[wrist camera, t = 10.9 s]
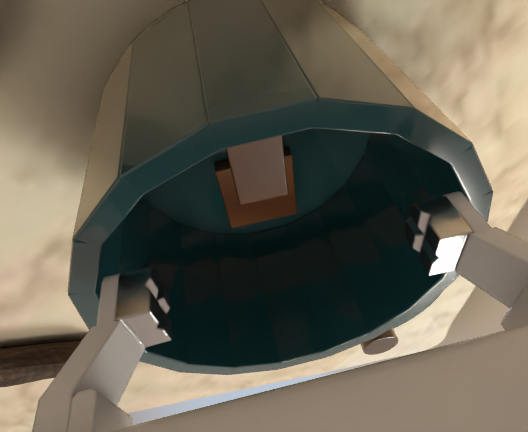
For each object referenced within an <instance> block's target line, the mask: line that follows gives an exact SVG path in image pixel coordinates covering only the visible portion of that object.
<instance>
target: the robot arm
mask: <svg viewBox="0 0 528 432" xmlns="http://www.w3.org/2000/svg"><path fill="white" fill-rule="evenodd" d="M408 212H409V214H410V215H411V216H410V217H409V218H408V219H407V220H406V224H405V231H406V236H407V239H408V242H409V243H410V245H411V247H412V248H413V249H414V250H416V251H418V252H420V256H419V260H420V262H421V264H422V265H423V267H424V269H425V270H426V272H427V274H428V275H429V276H431V275H435V274H440V273H444V272H449V271H453V270H455V272H456V273H458V274H459V275H461V276H462V277H464V278H465V279H467V280H468V281H470V282H471V283H473V284H474V285H476V286H477V287H479V288H480V289H482V290H483V291H485V292H486V293H488V294H489V295H491V296H492V297H494V298H495V299H497V300H498V301H500V302H502V303H503V304H505V305H506V306H507V307H509V308H510V309H509V311H508V312H507V314H506V315H505V316H504V318H503V320H502V322H501V325H502V326H503V328H504V329H505V330H504V331H500V332H497V333H493V334H489V335H485V336H481V337H477V338H473V339H469V340H465V341H462V342H457V343H453V344H450V345H446V346H442V347H438V348H434V349H430V350H426V351H422V352H418V353H414V354H410V355H406V356H402V357H399V358H395V359H391V360H387V361H383V362H379V363H375V364H372V365H367V366H363V367H360V368H355V369H352V370H348V371H344V372H340V373H336V374H332V375H328V376H324V377H320V378H316V379H312V380H308V381H305V382H301V383H297V384H293V385H289V386H285V387H281V388H277V389H273V390H270V391H265V392H261V393H258V394H254V395H250V396H246V397H242V398H238V399H234V400H230V401H226V402H223V403H218V404H215V405H211V406H207V407H203V408H199V409H195V410H192V411H187V412H183V413H179V414H175V415H172V416H168V417H164V418H160V419H156V420H152V421H148V422H144V423H140V424H137V425H132V417H131V416H130V415H129V414H127V413H126V412H124V411H123V410H122V409H120V408H119V407H117V404H118V402H119V400H120V398H121V396H122V394H123V392H124V390H125V388H126V386H127V384H128V382H129V380H130V378H131V376H132V374H133V372H134V370H135V368H136V366H137V364H138V362H139V360H140V358H141V356H142V354H143V352H144V350H145V347H149V346H152V345H156V344H159V343H163V342H167V341H170V340H171V320H170V319H169V317H168V316H167V313H168V311H169V309H170V297H169V292H168V289H167V286H166V284H165V282H164V280H162V279H159V272H158V271H157V269H156V268H155V266H152V267H147V268H143V269H138V270H134V271H129V272H124V273H120V274H116V275H111V276H107V277H104V279H103V281H102V285H101V293H100V301H99V309H98V317H97V325H96V326H94V327H91V329H90V330H89V331H88V333H87V334H86V336H85V337H84V338H83V340H82V341H81V343H80V344H79V345H78V347H77V348H76V349H75V351H74V352H73V354H72V355H71V356H70V358H69V359H68V361H67V362H66V363H65V365H64V366H63V367H62V369H61V370H60V372H59V373H58V374H57V376H56V377H55V378H54V380H53V381H52V383H51V384H50V385H49V387H48V388H47V390H46V391H45V392H44V394H43V395H42V396H41V398H40V399H39V401H38V406H37V411H36V416H35V420H34V425H33V430H32V432H528V241H526V240H523V239H521V238H519V237H517V236H514V235H512V234H510V233H508V232H506V231H504V230H501V229H499V228H497V227H495V228H491V227H490V226H489V224H488V223H487V222H486V221H485V220H484V218H483V217H482V216H481V215H480V214H479V212H478V211H477V210H476V209H475V208H474V207H473V205H472V204H471V203H470V202H469V201H468V199H467V198H466V197H465V196H464V195H463V193H461V192H459V191H458V192H454V193H449V194H445V195H442V196H441V195H440V196H436V197H432V198H428V199H424V200H420V201H417V202H413V203H411V204H410V205H409V209H408Z"/></svg>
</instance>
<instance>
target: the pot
mask: <svg viewBox="0 0 528 432" xmlns="http://www.w3.org/2000/svg"><path fill="white" fill-rule="evenodd" d="M277 136H282V139H283V147H289V149H290V151H291V154H292V160H293V171H294V182H295V193H296V204H297V213H296V214H292V215H288V216H283V217H279V218H275V219H270V220H266V221H262V222H257V223H253V224H249V225H244V226H240V227H236V228H231V226H230V222H229V219H228V215H227V212H226V208H225V205H224V201H223V198H222V194H221V191H220V187H219V184H218V180H217V177H216V173H215V168H214V163H216V162H221V161H225V160H228V157H227V153H226V148H230V147H235V146H239V145H243V144H247V143H252V142H256V141H260V140H265V139H269V138H273V137H277ZM458 191H459V192H461V193H463V195H464V196H465V197H466V198H467V199H468V201H469V202H470V203H471V204H472V205H473V207H474V208H475V209H476V210H477V211H478V212H479V214H480V215H481V216H482V217H483V218H484V220H485V221H486V222H488V216H489V211H490V206H491V201H492V195H493V190H492V187H491V185H490V182H489V180H488V178H487V175H486V173H485V171H484V169H483V166H482V164H481V162H480V159H479V157H478V155H477V152H476V150H475V148H474V145H473V144H472V142H471V141H470V140H469V139H468V138H467V137H466V136H465V135H464V134H463V133H462V132H461V131H460V130H459V129H458V128H457V127H456V126H455V125H454V124H453V123H452V122H451V121H450V120H449V119H448V118H447V117H446V116H445V115H444V114H443V113H442V112H441V111H440V110H439V109H438V108H437V107H436V106H435V104H434V103H433V102H432V101H431V100H430V99H429V98H428V97H427V96H426V95H425V94H424V93H423V92H422V91H421V90H420V89H419V88H418V87H417V86H416V85H415V84H414V83H413V82H412V81H411V80H410V79H409V78H408V77H407V76H406V75H405V74H404V73H403V72H402V71H401V70H400V69H399V68H398V67H397V66H396V65H395V64H394V63H393V62H392V61H391V60H390V59H389V58H388V57H387V56H386V55H385V54H384V53H383V52H382V51H381V50H380V49H379V48H378V47H377V46H376V45H375V44H374V43H373V42H372V41H371V40H370V39H369V38H368V37H367V36H366V35H365V34H364V33H363V32H362V31H361V30H360V29H359V28H357V27H356V26H354V25H353V24H351V23H350V22H349V21H347V20H346V19H345V18H344V17H342V16H341V15H340V14H338V13H337V12H336V11H334V10H333V9H331V8H330V7H328V6H326V5H324V4H323V3H321V2H320V1H318V0H190V1H188V2H186V3H184V4H182V5H179V6H177V7H175V8H173V9H172V10H170V11H169V12H167V13H166V14H164V15H163V16H161V17H160V18H158V19H157V20H155V21H154V22H152V23H151V24H150V25H149V26H148V27H147V28H146V29H145V30H144V31H143V32H141V33H140V34H139V35H138V36H137V37H136V38H135V39H134V41H133V42H132V43H131V44H130V46H129V47H128V48H127V49H126V50H125V52H124V53H123V54H122V56H121V58H120V59H119V61H118V63H117V65H116V66H115V68H114V70H113V71H112V74H111V76H110V79H109V81H108V82H107V84H106V86H105V87H104V90H103V92H102V97H101V102H100V107H99V112H98V117H97V122H96V126H95V131H94V136H93V141H92V146H91V151H90V156H89V161H88V165H87V170H86V175H85V180H84V185H83V190H82V195H81V199H80V204H79V209H78V214H77V219H76V224H75V229H74V234H73V238H72V248H71V259H70V271H69V282H68V295H69V297H70V299H71V301H72V302H73V304H74V306H75V307H76V309H77V311H78V312H79V314H80V316H81V317H82V319H83V321H84V322H85V324H86V326H87V327H88V329H89V330H90V329H91V327H94V326H96V325H97V317H98V309H99V301H100V293H101V285H102V281H103V279H104V277H107V276H111V275H116V274H120V273H124V272H129V271H134V270H138V269H143V268H147V267H152V266H155V268H156V269H157V271H158V272H159V279H162V280H164V282H165V284H166V286H167V289H168V292H169V297H170V309H169V311H168V313H167V316H168V317H169V319H170V320H171V340H170V341H167V342H163V343H159V344H156V345H152V346H149V347H145V350H144V352H143V354H142V356H141V358H140V360H139V361H140V362H144V363H148V364H151V365H155V366H159V367H162V368H166V369H170V370H173V371H177V372H178V371H179V372H185V373H203V374H221V375H232V374H241V373H250V372H260V371H269V370H278V369H282V368H286V367H290V366H294V365H298V364H302V363H306V362H310V361H314V360H318V359H322V358H325V357H328V356H332V355H334V354H336V353H339V352H341V351H344V350H346V349H349V348H351V347H354V346H356V345H358V344H361V343H363V342H366V341H368V340H371V339H373V338H375V337H377V336H379V335H381V334H382V333H384V332H386V331H387V330H389V329H391V328H392V327H394V326H396V325H397V324H399V323H401V322H402V321H404V320H406V319H408V318H409V317H411V316H413V315H414V314H416V313H418V312H419V311H420V310H422V309H423V308H424V307H425V306H426V305H427V304H428V303H429V302H431V301H432V300H433V299H434V298H435V297H436V296H437V295H439V294H440V293H441V292H442V291H443V290H444V289H445V288H446V287H448V286H449V285H450V284H451V283H452V282H453V281H454V280H455V279H456V277H458V276H459V274H458V273H456V272H455V270H453V271H449V272H444V273H440V274H435V275H431V276H429V275H428V274H427V272H426V270H425V269H424V267H423V265H422V264H421V262H420V260H419V256H420V252H418V251H416V250H414V249H413V248H412V247H411V245H410V243H409V242H408V239H407V236H406V231H405V224H406V220H407V219H408V218H409V217H410V216H411V215H410V214H409V212H408V209H409V205H410V204H411V203H413V202H417V201H420V200H424V199H428V198H432V197H436V196H440V195H441V196H442V195H445V194H449V193H454V192H458Z"/></svg>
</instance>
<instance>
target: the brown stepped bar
mask: <svg viewBox="0 0 528 432" xmlns="http://www.w3.org/2000/svg"><path fill="white" fill-rule="evenodd" d="M226 153H227V157H228V160H225V161H221V162H216V163H214V168H215V173H216V177H217V180H218V184H219V187H220V191H221V194H222V198H223V201H224V205H225V208H226V212H227V215H228V219H229V222H230V226H231V228H236V227H240V226H244V225H249V224H253V223H257V222H262V221H266V220H270V219H275V218H279V217H283V216H288V215H292V214H296V213H297V204H296V193H295V182H294V171H293V160H292V154H291V151H290V149H289V147H283V139H282V136H277V137H273V138H269V139H265V140H260V141H256V142H252V143H247V144H243V145H239V146H235V147H230V148H226Z"/></svg>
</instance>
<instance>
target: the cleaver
mask: <svg viewBox="0 0 528 432" xmlns="http://www.w3.org/2000/svg"><path fill="white" fill-rule="evenodd" d="M80 343H81V341H76V342H60V343H48V344H38V345H29V346H20V347H12V348H3V349H0V387H8V386H13V385H19V384H24V383H28V382H33V381H38V380H42V379H49V378H55V377H56V376H57V374H58V373H59V372H60V370H61V369H62V367H63V366H64V365H65V363H66V362H67V361H68V359H69V358H70V356H71V355H72V354H73V352H74V351H75V349H76V348H77V347H78V345H79V344H80Z"/></svg>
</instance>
